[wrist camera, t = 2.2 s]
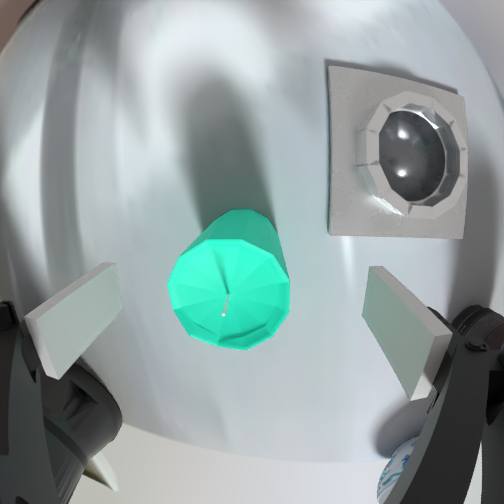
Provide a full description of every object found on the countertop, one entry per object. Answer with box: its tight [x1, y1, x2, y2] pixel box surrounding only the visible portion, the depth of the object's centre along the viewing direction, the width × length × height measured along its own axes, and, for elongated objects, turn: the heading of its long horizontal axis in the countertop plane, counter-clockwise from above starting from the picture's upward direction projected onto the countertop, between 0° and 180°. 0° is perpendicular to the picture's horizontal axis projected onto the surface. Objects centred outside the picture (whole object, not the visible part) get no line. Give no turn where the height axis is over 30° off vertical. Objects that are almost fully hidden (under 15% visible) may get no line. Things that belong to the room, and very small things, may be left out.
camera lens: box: [451, 305, 504, 350], centre depth 18 cm, size 8×8×15 cm
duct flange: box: [327, 65, 468, 239], centre depth 19 cm, size 14×14×3 cm
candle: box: [167, 209, 290, 350], centre depth 17 cm, size 6×6×12 cm
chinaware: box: [377, 436, 419, 504], centre depth 28 cm, size 15×15×8 cm
